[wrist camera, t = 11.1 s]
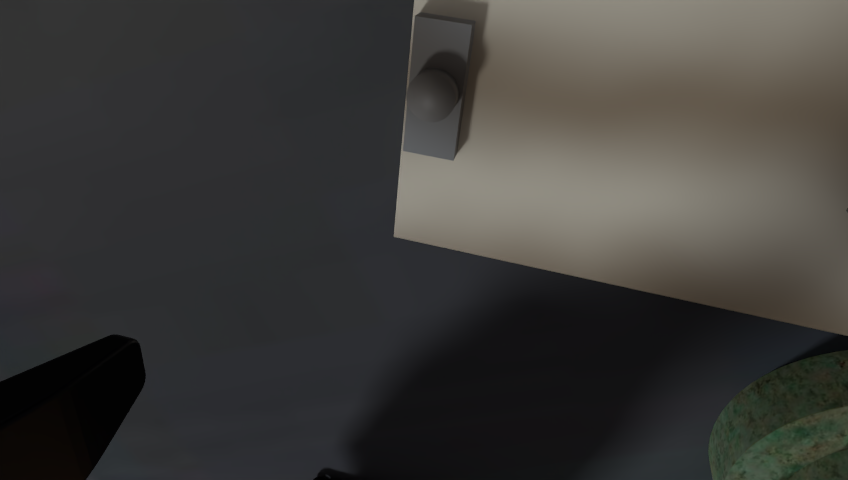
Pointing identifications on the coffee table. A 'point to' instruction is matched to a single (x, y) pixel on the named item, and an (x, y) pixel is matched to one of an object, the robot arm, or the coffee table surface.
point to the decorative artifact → (786, 425)
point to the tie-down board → (638, 145)
